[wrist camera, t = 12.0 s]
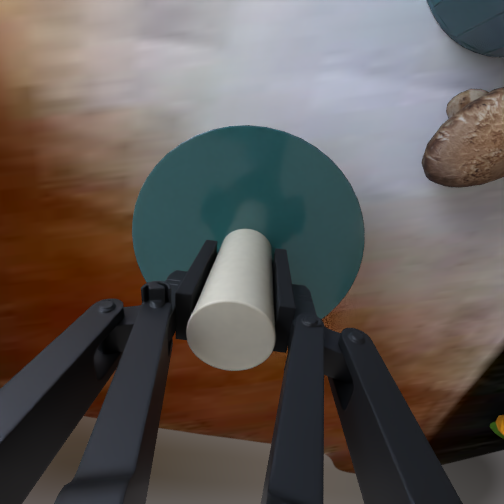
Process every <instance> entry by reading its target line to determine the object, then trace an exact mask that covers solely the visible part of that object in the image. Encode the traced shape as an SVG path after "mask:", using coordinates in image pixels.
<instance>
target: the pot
mask: <svg viewBox="0 0 504 504" xmlns="http://www.w3.org/2000/svg"><path fill="white" fill-rule="evenodd" d="M427 2H428V4H429V7H430V9H431V11H432V13H433V15H434V17H435V19H436V20H437V22H438V23H439V25H440V26H441V28H442V29H443V30H444V31H445V32H446V33H447V34H448V35H449V36H450V37H451V38H452V39H453V40H454V41H456V42H457V43H458V44H460V45H461V46H462V47H465V48H467V49H469V50H471V51H473V52H475V53H479V54H482V55H486V56H492V57H504V0H427Z"/></svg>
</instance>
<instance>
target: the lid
mask: <svg viewBox="0 0 504 504" xmlns="http://www.w3.org/2000/svg"><path fill="white" fill-rule="evenodd" d="M132 237H133V246H134V251H135V255H136V259H137V263H138V265H139V268H140V270H141V273H142V275H143V277H144V279H145V280H146V282H147V283H148V282H152V281H165V280H167V278H168V276H169V275H170V274H171V273H173V272H174V271H176V270H180V271H188V270H189V268H190V267H191V265H192V263H193V262H194V260H195V258H196V256H197V255H198V253H199V251H200V250H201V248H202V246H203V245H204V243H205V241H206V240H213V241H217V255H216V257H215V259H214V262H213V264H212V266H211V269H210V271H209V273H208V276H207V278H206V280H205V283H204V285H203V287H202V290H201V292H200V294H199V297H198V299H197V301H196V304H195V306H194V308H193V311H192V313H191V315H190V318H189V320H188V323H187V326H186V337H187V341H188V344H189V346H190V348H191V350H192V351H193V352H194V354H195V355H196V356H197V357H198V358H200V359H201V360H202V361H204V362H205V363H207V364H209V365H211V366H213V367H216V368H219V369H223V370H231V371H238V370H246V369H250V368H253V367H255V366H257V365H259V364H261V363H262V362H264V361H265V360H266V359H267V358H268V357H269V356H270V354H271V353H272V351H273V349H274V347H275V344H276V321H275V298H274V276H273V260H274V254H275V248H277V249H285V250H287V256H288V262H289V268H290V274H291V280H292V284H296V285H304V286H306V287H307V288H308V289H309V290H310V293H311V297H312V300H313V304H314V307H315V311H316V315H317V317H318V318H320V319H322V318H324V317H325V316H326V315H328V314H329V313H330V312H331V311H332V310H333V309H334V308H335V307H336V306H337V305H338V304H339V303H340V301H341V300H342V299H343V298H344V297H345V295H346V294H347V292H348V291H349V289H350V288H351V286H352V284H353V282H354V280H355V278H356V276H357V273H358V271H359V268H360V264H361V261H362V257H363V250H364V223H363V216H362V212H361V209H360V205H359V202H358V199H357V197H356V195H355V193H354V191H353V188H352V186H351V184H350V183H349V181H348V180H347V179H346V177H345V176H344V174H343V173H342V171H341V170H340V169H339V168H338V167H337V166H336V165H335V163H334V162H333V161H332V160H331V159H330V158H329V157H327V156H326V155H325V154H324V153H322V152H321V151H320V150H319V149H318V148H316V147H315V146H313V145H311V144H309V143H308V142H306V141H304V140H303V139H301V138H299V137H296V136H294V135H291V134H289V133H286V132H284V131H280V130H276V129H272V128H268V127H260V126H250V125H245V126H229V127H223V128H218V129H213V130H210V131H207V132H204V133H202V134H199V135H196V136H194V137H192V138H190V139H189V140H187V141H185V142H183V143H181V144H180V145H178V146H177V147H176V148H174V149H173V150H172V151H170V152H169V153H168V154H167V155H166V156H165V157H164V158H163V159H162V160H161V161H160V162H159V163H158V164H157V165H156V166H155V167H154V169H153V170H152V171H151V173H150V174H149V176H148V177H147V179H146V181H145V182H144V184H143V186H142V188H141V190H140V193H139V196H138V199H137V202H136V205H135V209H134V215H133V224H132Z"/></svg>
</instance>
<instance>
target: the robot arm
mask: <svg viewBox="0 0 504 504" xmlns="http://www.w3.org/2000/svg"><path fill="white" fill-rule="evenodd" d="M216 255H217V241H213V240H206V241H205V243H204V245H203V246H202V248H201V250H200V251H199V253H198V255H197V256H196V258H195V260H194V262H193V263H192V265H191V267H190V268H189V270H188V271H180V270H176V271H174V272H173V273H171V274H170V275H169V276H168V278H167V280H165V281H152V282H148V283H146V284H144V285H143V286H142V287H141V294H142V305H140V306H132V307H123V302H121V301H120V300H118V299H105V300H101V301H99V302H97V303H95V304H94V305H92V306H91V307H90V308H89V309H88V310H87V311H86V312H85V313H84V314H82V315H81V316H80V317H79V318H78V319H77V320H76V321H75V322H74V323H72V324H71V325H70V326H69V327H68V328H67V329H66V330H65V331H64V332H63V333H61V334H60V335H59V336H58V337H57V338H56V339H55V340H54V341H53V342H52V343H50V344H49V345H48V346H47V347H46V348H45V349H44V350H43V351H42V352H41V353H39V354H38V355H37V356H36V357H35V358H34V359H33V360H32V361H31V362H30V363H28V364H27V365H26V366H25V367H24V368H23V369H22V370H21V371H20V372H19V373H17V374H16V375H15V376H14V377H13V378H12V379H11V380H10V381H9V382H8V383H6V384H5V385H4V386H3V387H2V388H1V389H0V504H22V503H23V501H24V500H25V499H26V497H27V496H28V494H29V492H30V491H31V490H32V489H33V487H34V486H35V484H36V483H37V481H38V480H39V479H40V477H41V476H42V474H43V473H44V471H45V470H46V468H47V467H48V466H49V464H50V463H51V461H52V460H53V458H54V457H55V455H56V454H57V452H58V451H59V450H60V448H61V447H62V445H63V444H64V442H65V441H66V440H67V438H68V437H69V436H70V434H71V433H72V431H73V429H74V428H75V427H76V425H77V424H78V422H79V421H80V420H81V418H82V417H83V415H84V414H85V413H86V411H87V410H88V408H89V407H90V405H91V404H92V403H93V401H94V400H95V398H96V397H97V395H98V394H99V393H100V391H101V390H102V388H103V387H104V385H105V384H106V382H107V381H108V380H109V378H110V377H111V375H112V374H113V372H114V371H115V370H116V372H115V374H114V377H113V380H112V382H111V385H110V387H109V390H108V393H107V395H106V398H105V400H104V403H103V405H102V408H101V411H100V413H99V416H98V418H97V421H96V424H95V426H94V429H93V432H92V434H91V436H90V439H89V442H88V444H87V447H86V449H85V452H84V455H83V457H82V460H81V462H80V465H79V467H78V470H77V473H76V475H75V477H74V478H73V480H72V481H71V482H70V483H68V484H67V485H65V486H64V487H63V488H62V490H61V491H60V493H59V494H58V496H57V499H56V501H55V503H54V504H145V503H146V497H147V491H148V485H149V479H150V474H151V468H152V462H153V456H154V450H155V444H156V439H157V433H158V427H159V421H160V415H161V409H162V404H163V398H164V392H165V386H166V380H167V375H168V369H169V363H170V357H171V351H172V345H173V341H172V337H173V335H174V333H175V331H176V339H182V340H187V337H186V326H187V323H188V320H189V318H190V315H191V313H192V311H193V308H194V306H195V304H196V301H197V299H198V297H199V294H200V292H201V290H202V287H203V285H204V283H205V280H206V278H207V276H208V273H209V271H210V269H211V266H212V264H213V262H214V259H215V257H216ZM273 276H274V298H275V321H276V344H275V347H274V349H273V351H277V352H285V353H286V351H287V346H288V355H287V360H286V364H285V368H284V377H283V382H282V388H281V393H280V399H279V405H278V410H277V416H276V422H275V427H274V433H273V438H272V444H271V450H270V455H269V461H268V466H267V472H266V478H265V483H264V489H263V495H262V500H261V504H323V460H324V456H323V455H324V375H326V376H328V380H329V383H330V387H331V390H332V394H333V397H334V401H335V404H336V408H337V411H338V414H339V418H340V421H341V425H342V428H343V432H344V435H345V438H346V442H347V445H348V449H349V452H350V456H351V459H352V463H353V466H354V469H355V473H356V476H357V479H358V483H359V487H360V490H361V493H362V497H363V500H364V504H463V503H462V502H461V500H460V498H459V496H458V495H457V493H456V491H455V489H454V487H453V486H452V484H451V482H450V480H449V478H448V477H447V475H446V473H445V471H444V469H443V468H442V466H441V464H440V462H439V460H438V459H437V457H436V455H435V453H434V451H433V450H432V448H431V446H430V444H429V442H428V441H427V439H426V437H425V435H424V433H423V432H422V430H421V428H420V426H419V424H418V423H417V421H416V419H415V417H414V415H413V414H412V412H411V410H410V408H409V407H408V405H407V403H406V401H405V399H404V398H403V396H402V394H401V392H400V390H399V389H398V387H397V385H396V383H395V381H394V380H393V378H392V376H391V374H390V372H389V371H388V369H387V367H386V365H385V363H384V362H383V360H382V358H381V356H380V354H379V353H378V351H377V349H376V347H375V345H374V344H373V342H372V340H371V339H370V337H369V336H368V335H367V334H365V333H364V332H362V331H360V330H358V329H354V328H346V329H344V330H343V331H342V333H338V332H335V331H332V330H330V329H328V328H326V327H324V324H323V321H322V320H321V319H320V318H318V317H317V315H316V311H315V307H314V304H313V300H312V297H311V293H310V290H309V289H308V288H307V287H306V286H304V285H296V284H292V280H291V274H290V268H289V262H288V256H287V250H285V249H277V248H275V254H274V260H273ZM116 368H117V369H116Z"/></svg>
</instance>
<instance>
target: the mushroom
mask: <svg viewBox="0 0 504 504" xmlns="http://www.w3.org/2000/svg"><path fill="white" fill-rule="evenodd" d="M446 112H447V115H448V118H449V119H448V120H447V121H446V122H445V123H444V124H442V126H441V127H440V128H439V130H438V131H437V132H436V133H435V135H434V136H433V137H432V139H431V140H430V141H429V143H428V144H427V147H426V150H425V153H424V156H423V159H422V166H423V169H424V172H425V175H426V177H427V178H428V179H429V180H431V181H433V182H435V183H437V184H441V185H444V186H448V187H468V186H475V185H482V184H485V183H488V182H491V181H493V180H496V179H499V178H502V177H504V87H503V88H498V89H494V90H492V91H491V92H487V91H484V90H482V89H469V90H467V91H464V92H461V93H460V94H458V95H457V96H455V97H453V98H452V100H451V101H450V102H449V103H448V105H447V110H446Z"/></svg>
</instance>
